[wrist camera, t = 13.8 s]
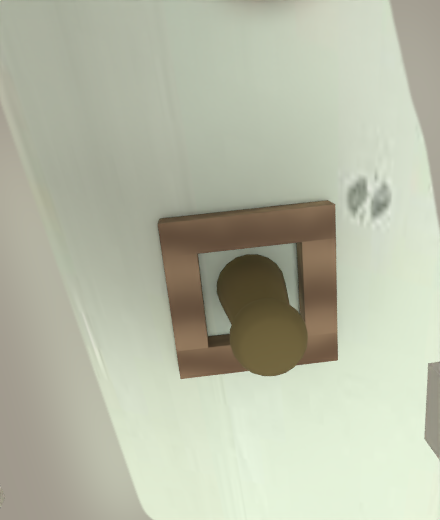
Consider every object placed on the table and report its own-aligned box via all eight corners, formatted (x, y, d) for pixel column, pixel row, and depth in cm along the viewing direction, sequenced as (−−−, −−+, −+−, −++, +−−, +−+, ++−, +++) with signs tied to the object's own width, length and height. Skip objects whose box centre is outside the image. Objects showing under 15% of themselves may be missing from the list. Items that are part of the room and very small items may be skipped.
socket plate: (159, 218, 35) (157, 224, 33) (327, 200, 35) (335, 204, 33) (181, 366, 39) (180, 378, 37) (330, 348, 39) (337, 360, 37)
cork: (263, 328, 38) (289, 404, 28) (204, 301, 37) (208, 369, 27) (297, 272, 37) (338, 330, 26) (237, 242, 36) (254, 290, 25)
